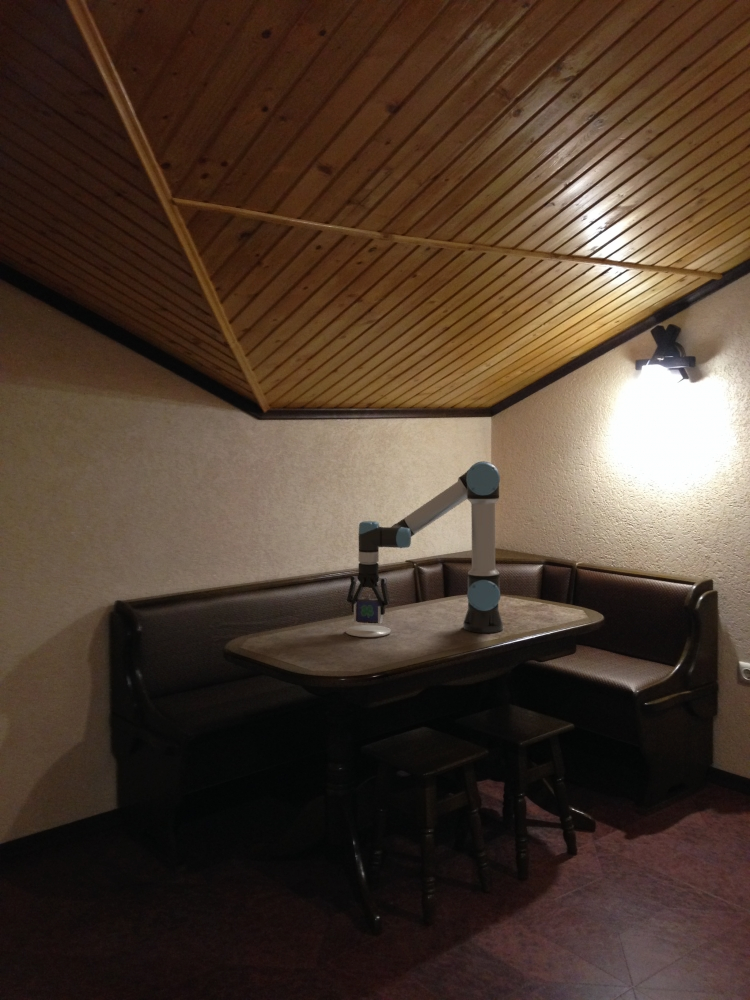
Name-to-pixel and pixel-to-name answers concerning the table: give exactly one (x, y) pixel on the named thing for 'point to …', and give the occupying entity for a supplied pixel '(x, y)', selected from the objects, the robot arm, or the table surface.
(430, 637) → the table surface
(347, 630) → the plate
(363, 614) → the blue hip flask
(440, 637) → the table surface
